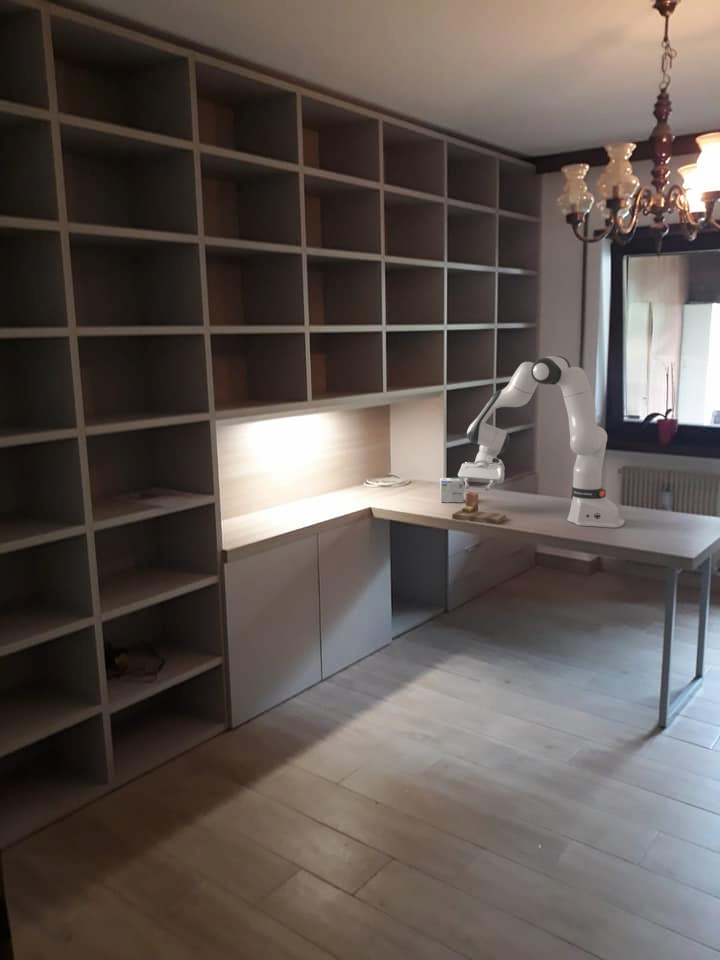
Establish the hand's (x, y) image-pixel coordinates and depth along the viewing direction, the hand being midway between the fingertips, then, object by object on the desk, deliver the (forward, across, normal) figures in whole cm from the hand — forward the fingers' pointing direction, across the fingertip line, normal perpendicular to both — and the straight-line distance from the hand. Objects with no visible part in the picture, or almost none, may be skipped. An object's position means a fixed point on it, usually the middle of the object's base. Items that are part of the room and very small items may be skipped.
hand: (476, 488), depth 338 cm
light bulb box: (-2, -17, +17) cm, 24 cm away
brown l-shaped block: (+13, 0, +2) cm, 13 cm away
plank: (+16, +6, -2) cm, 17 cm away
